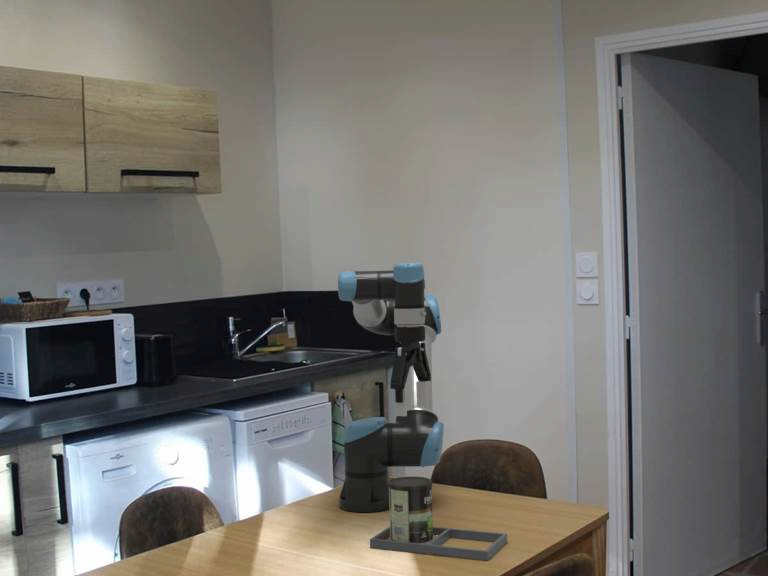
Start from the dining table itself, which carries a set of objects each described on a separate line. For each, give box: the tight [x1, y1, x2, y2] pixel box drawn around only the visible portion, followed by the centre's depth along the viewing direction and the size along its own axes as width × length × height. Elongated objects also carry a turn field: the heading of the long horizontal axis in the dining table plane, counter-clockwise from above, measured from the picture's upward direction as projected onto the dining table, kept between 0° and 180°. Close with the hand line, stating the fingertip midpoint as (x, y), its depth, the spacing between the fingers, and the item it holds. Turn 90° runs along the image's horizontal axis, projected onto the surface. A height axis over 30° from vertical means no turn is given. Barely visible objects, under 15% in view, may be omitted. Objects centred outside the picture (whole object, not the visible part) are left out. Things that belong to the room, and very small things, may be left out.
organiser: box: [369, 526, 508, 562], centre depth 227 cm, size 15×28×2 cm, turn 66°
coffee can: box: [388, 476, 434, 544], centre depth 230 cm, size 10×10×14 cm
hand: (411, 411), depth 242 cm, fingers open, 13 cm apart
